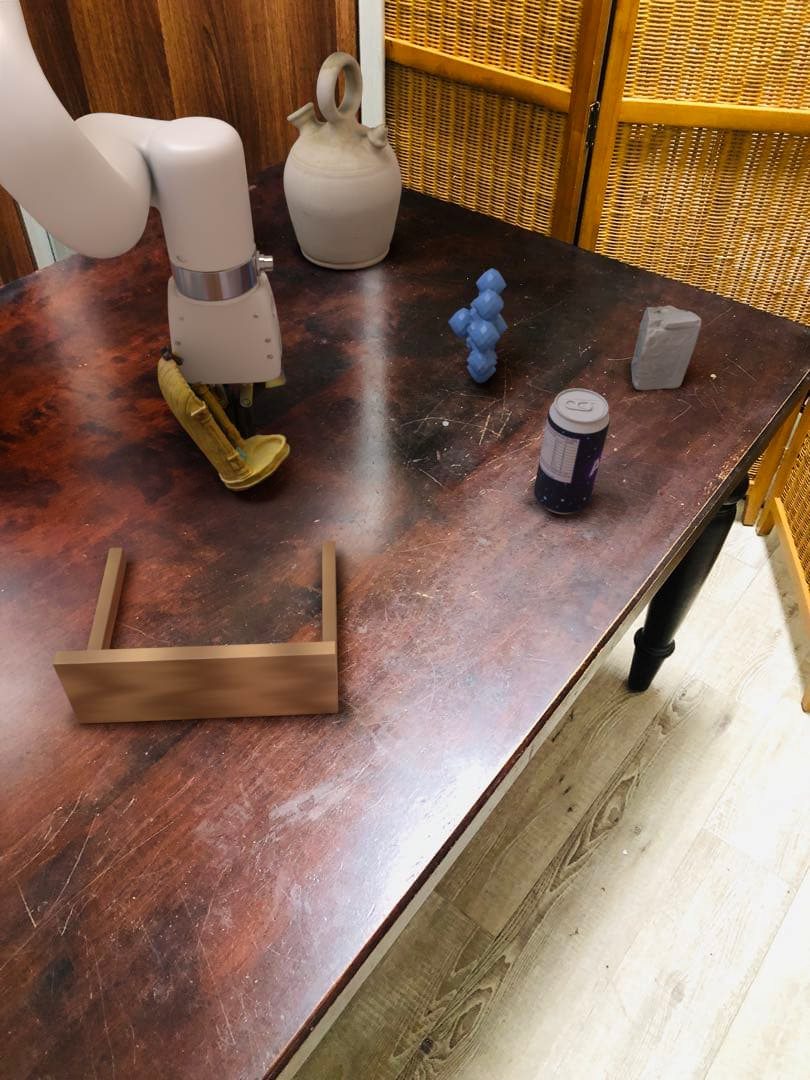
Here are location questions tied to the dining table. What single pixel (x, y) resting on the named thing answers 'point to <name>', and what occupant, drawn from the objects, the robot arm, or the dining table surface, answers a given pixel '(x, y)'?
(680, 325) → the mineral specimen
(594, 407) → the beverage can
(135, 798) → the dining table surface
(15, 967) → the dining table surface
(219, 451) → the shrine
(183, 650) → the wooden bench frame
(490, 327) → the grapes
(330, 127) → the jug
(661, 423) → the dining table surface
